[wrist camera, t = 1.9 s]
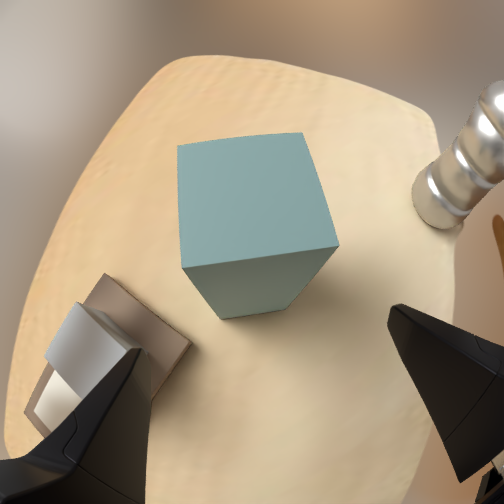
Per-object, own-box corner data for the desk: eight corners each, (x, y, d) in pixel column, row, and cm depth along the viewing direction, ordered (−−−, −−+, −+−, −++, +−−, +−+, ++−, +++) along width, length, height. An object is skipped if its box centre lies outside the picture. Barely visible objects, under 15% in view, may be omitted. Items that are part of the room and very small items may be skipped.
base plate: (192, 342, 20) (175, 338, 15) (96, 478, 14) (67, 498, 10) (110, 276, 21) (79, 256, 16) (30, 411, 16) (-4, 415, 11)
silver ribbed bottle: (407, 172, 26) (498, 30, 7) (453, 200, 25) (555, 85, 6) (400, 218, 24) (527, 60, 5) (450, 246, 23) (585, 131, 4)
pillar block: (285, 309, 21) (339, 245, 9) (220, 319, 20) (181, 268, 8) (273, 248, 22) (302, 132, 10) (212, 257, 22) (177, 145, 10)
